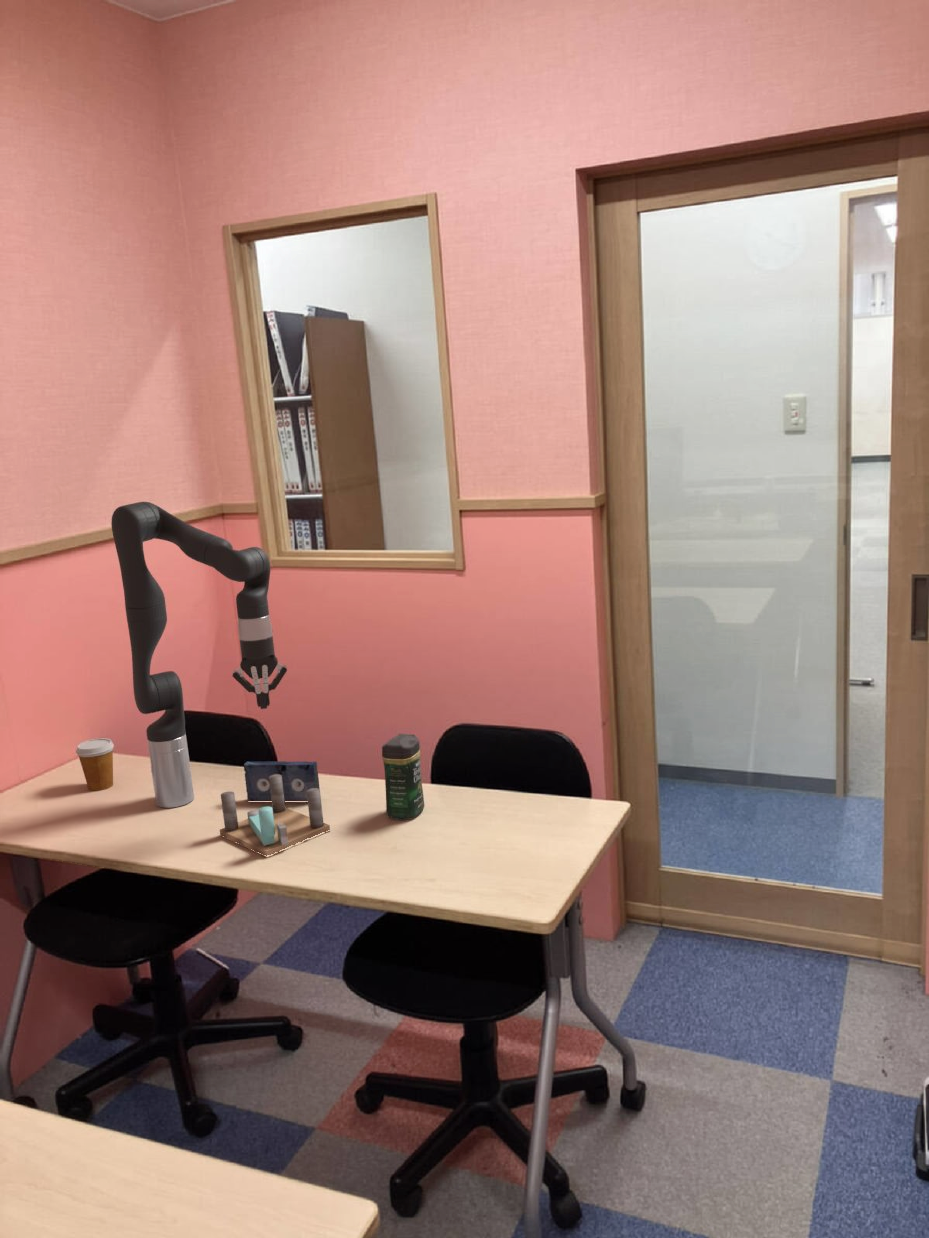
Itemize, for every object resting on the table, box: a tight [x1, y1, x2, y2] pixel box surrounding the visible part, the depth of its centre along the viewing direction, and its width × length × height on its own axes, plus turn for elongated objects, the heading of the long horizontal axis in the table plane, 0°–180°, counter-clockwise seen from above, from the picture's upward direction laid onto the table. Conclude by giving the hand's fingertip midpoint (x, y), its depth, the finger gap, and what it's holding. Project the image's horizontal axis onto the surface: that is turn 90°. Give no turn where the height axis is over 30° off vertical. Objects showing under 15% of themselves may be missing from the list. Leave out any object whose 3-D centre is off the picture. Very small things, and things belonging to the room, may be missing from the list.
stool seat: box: [219, 774, 331, 856], centre depth 228 cm, size 20×17×10 cm
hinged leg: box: [246, 806, 275, 846], centre depth 224 cm, size 16×3×8 cm, turn 26°
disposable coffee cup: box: [75, 737, 115, 792], centre depth 266 cm, size 10×10×12 cm
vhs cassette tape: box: [243, 760, 321, 802], centre depth 248 cm, size 18×3×10 cm, turn 78°
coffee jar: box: [381, 733, 425, 821], centre depth 234 cm, size 10×8×19 cm
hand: (264, 707), depth 233 cm, fingers closed
